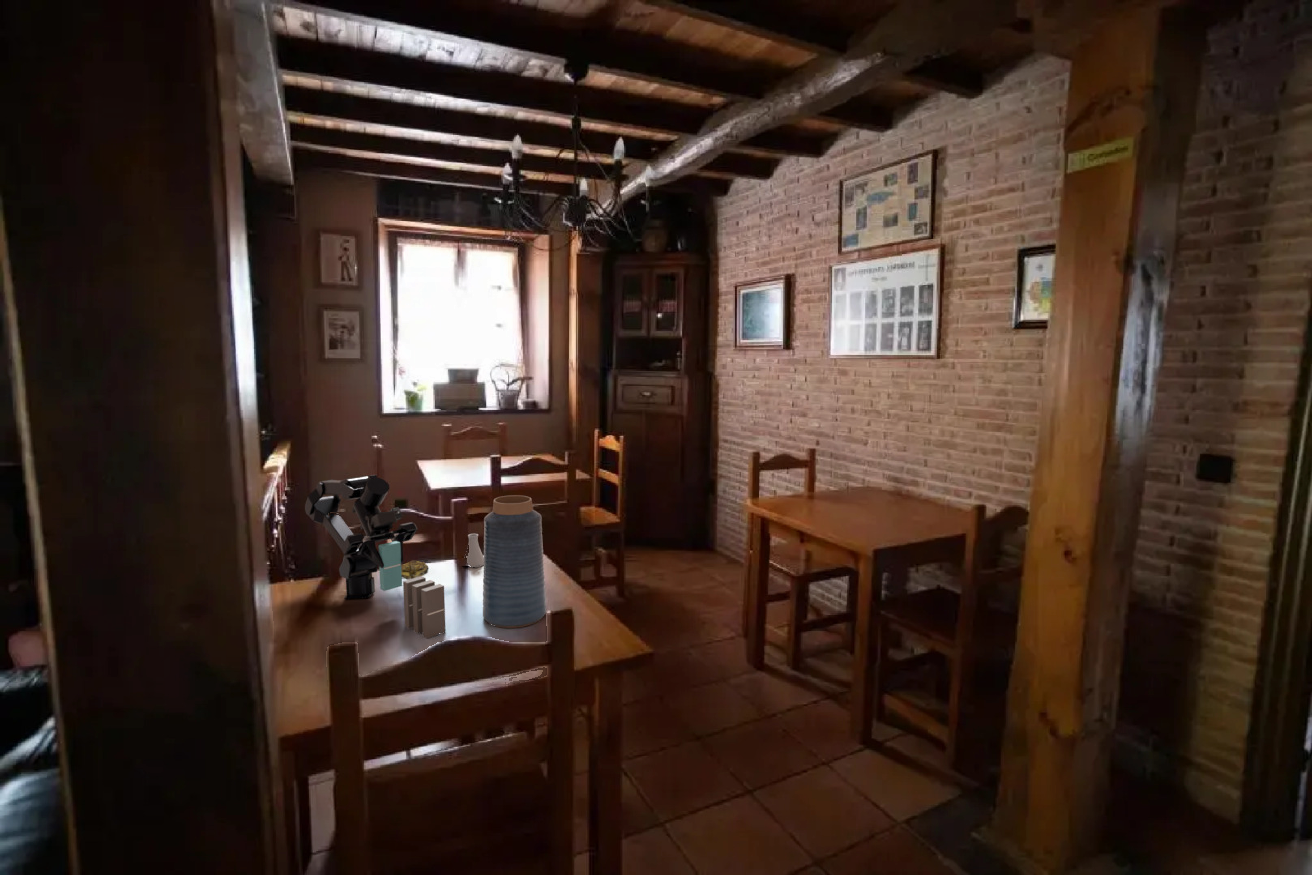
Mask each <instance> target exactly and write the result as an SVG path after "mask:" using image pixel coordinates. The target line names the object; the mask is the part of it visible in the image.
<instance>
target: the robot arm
mask: <svg viewBox="0 0 1312 875" xmlns="http://www.w3.org/2000/svg"><path fill="white" fill-rule="evenodd" d="M389 490H390V484H389V483H388V482H387V481H386V480H384V479H383V478H382V477H381V478H379V477H378V476H377V474H371V475H368V476H367V475H365V476H358V477H352V478H345V479H341V480H337V479H328V480H321V481H319V482H317V484H316V487H315V489H313V490H312V491H311V493H310V494H308V496H307V497H306V498H307V499H306V502H305V504H304V511H305V514H306V515H307V516H308V517H309V518H310V519H311V521H313V522H315V523H318V524H321V525H323V526H324V527H325V529H326V530H327V532H328V533H329V535H330V536H331V537H332V538H333V540H334V541H335V543H336V544H337V545H338V547H339V548H340V550H341V551H342V553H343V559H342V560H343V561H342V562H341V564H340V565H339V568H338V571H339V575H340V577H342V578H343V579H345V590H346V595H345V596H344V599H345V600H347V599H348V600H350V599H351V600H353V599H354V600H356V599H369V598H370V597H371V596H372V594H374V592H375V590H376V588H375V587H376V585H375V577H374V576H373V573H377V572H378V567H381V568H383V567H384V563H383V561H382V559H381V557H380V555H379V550H378V549H377V546H376V543H377V542H383V541H386V540H387V541H388V540H390V542H394V541H398V542H400V547H401V564H403V562H404V560H405V559H404V542H405V543H406V542H409V541H411V540H412V539H413V537H414V536H415V535H416V532H418V527H417V525H416V523H414V522H406V523H401V524H399V526H398V528H397V529H396V530H392V528H394V525H393V524H395V523H398V520H401V519H402V518H403V514H402V512H401V509H400V507H398V506H397V507H393V508H391V509H389V511H381V509H380V507H379V506H380V505H382V503H383V502H384V500H385V498H386V496H387V495H388V492H389ZM324 495H325V496H324ZM326 495H327V496H326ZM340 496H341V497H340ZM342 499H344V500H346V501H347V500H349V501H351V500H354V503H353V504H352V508H351V512H352V514H354V513H356V515H357V517H358V520H359V523H360V526H359V528H360V531H364V533H362V532H359V533H353V532H352V530H351V529H350V527H349V526H348V524H346V522H345V521H344V519H343V518H342V516H339V515H340V514H339V509H340V504H341V501H342ZM330 512H338V513H330ZM328 513H329V516H328ZM334 514H339V515H334ZM364 534H365V535H364Z"/></svg>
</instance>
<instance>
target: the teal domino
mask: <svg viewBox="0 0 1312 875" xmlns="http://www.w3.org/2000/svg"><path fill="white" fill-rule="evenodd" d="M377 548H378V553H379V555H380V557H381V559H382V561H383V563H384V567H383V568H381V567H379V566H378V567H379V588H380V590H381V591H383V592H385V591H389V590H392V589H397V588H399V587H402V586H403V578H402V571H401V565H402V563H401V547H400V542H398V541H394V542H392V541H389V542H387V543H382V544H378V547H377Z"/></svg>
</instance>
